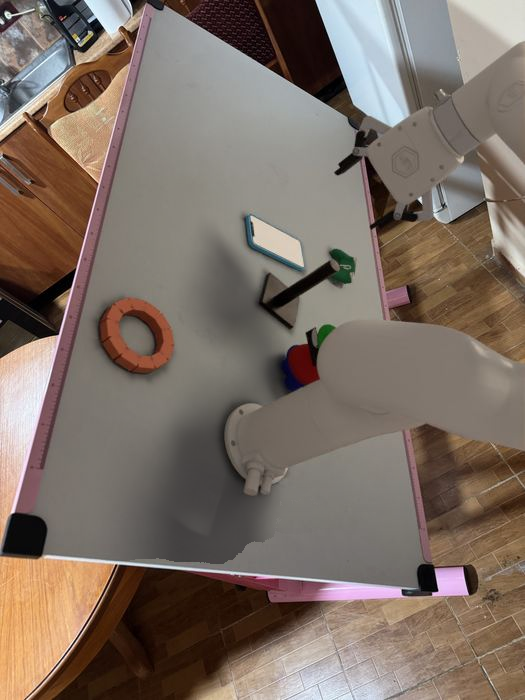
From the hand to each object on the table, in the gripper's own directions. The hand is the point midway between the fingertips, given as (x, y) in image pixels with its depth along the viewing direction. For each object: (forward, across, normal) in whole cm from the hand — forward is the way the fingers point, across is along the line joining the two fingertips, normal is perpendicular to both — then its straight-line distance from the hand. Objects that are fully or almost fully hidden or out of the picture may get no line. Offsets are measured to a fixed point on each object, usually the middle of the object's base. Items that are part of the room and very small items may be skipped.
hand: (355, 199), depth 85 cm
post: (+24, +7, +3) cm, 25 cm away
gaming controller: (+24, +8, +27) cm, 38 cm away
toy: (+25, +18, -8) cm, 31 cm away
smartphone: (+24, -3, +12) cm, 28 cm away
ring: (+25, -1, -31) cm, 39 cm away
